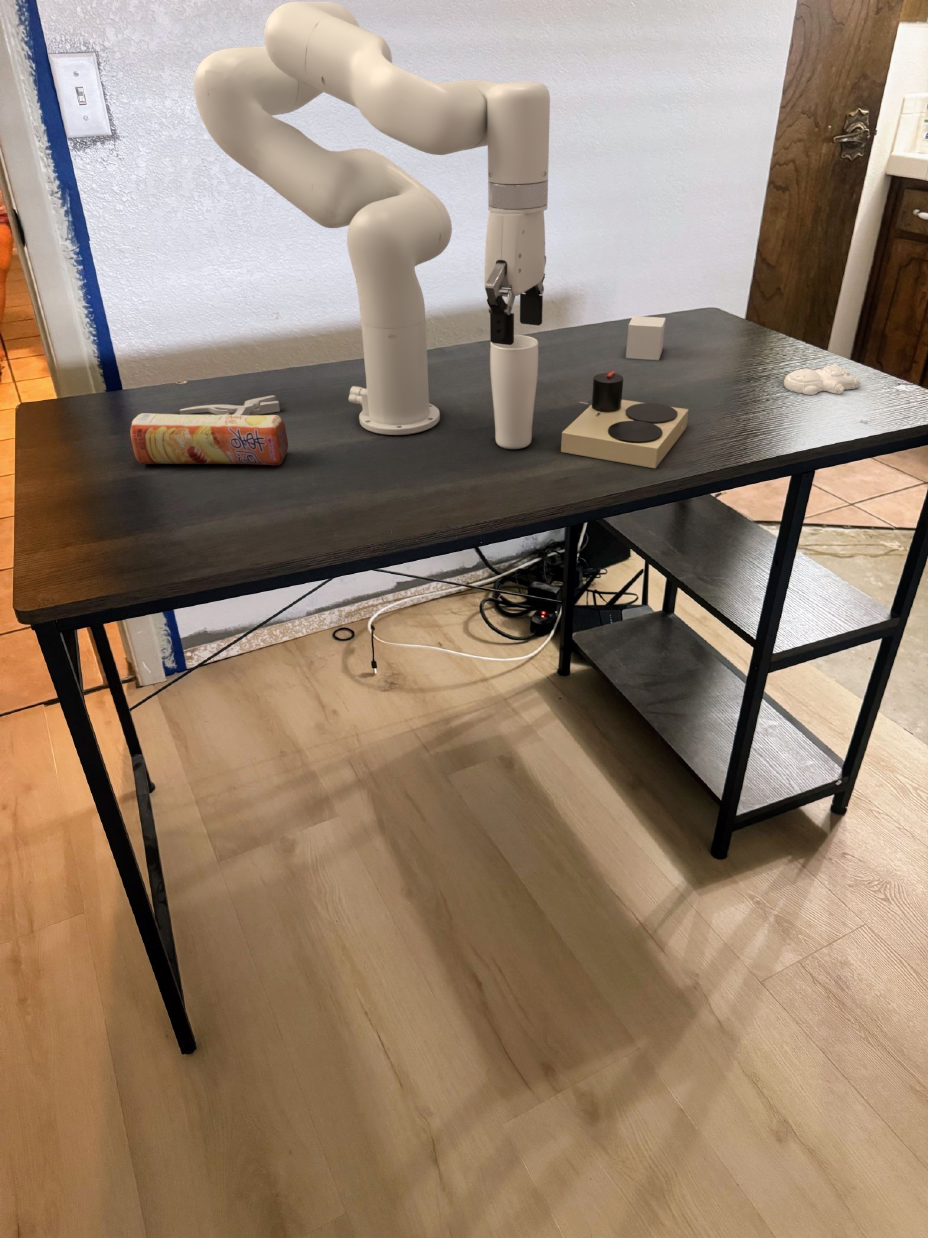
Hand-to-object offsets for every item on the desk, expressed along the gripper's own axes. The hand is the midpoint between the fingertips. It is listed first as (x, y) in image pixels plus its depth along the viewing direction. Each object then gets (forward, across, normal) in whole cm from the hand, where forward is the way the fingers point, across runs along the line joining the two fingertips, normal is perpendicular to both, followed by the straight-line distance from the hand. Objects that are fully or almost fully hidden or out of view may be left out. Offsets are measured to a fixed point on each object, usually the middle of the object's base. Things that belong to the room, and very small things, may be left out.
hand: (516, 333), depth 120 cm
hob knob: (+13, -12, +10) cm, 20 cm away
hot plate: (+16, -8, +14) cm, 23 cm away
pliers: (+16, +8, -46) cm, 50 cm away
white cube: (+16, -48, +5) cm, 51 cm away
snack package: (+16, +23, -38) cm, 47 cm away
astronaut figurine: (+16, -43, +37) cm, 59 cm away
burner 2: (+13, -4, +17) cm, 22 cm away
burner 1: (+13, -12, +17) cm, 24 cm away
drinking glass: (+16, 0, 0) cm, 16 cm away
